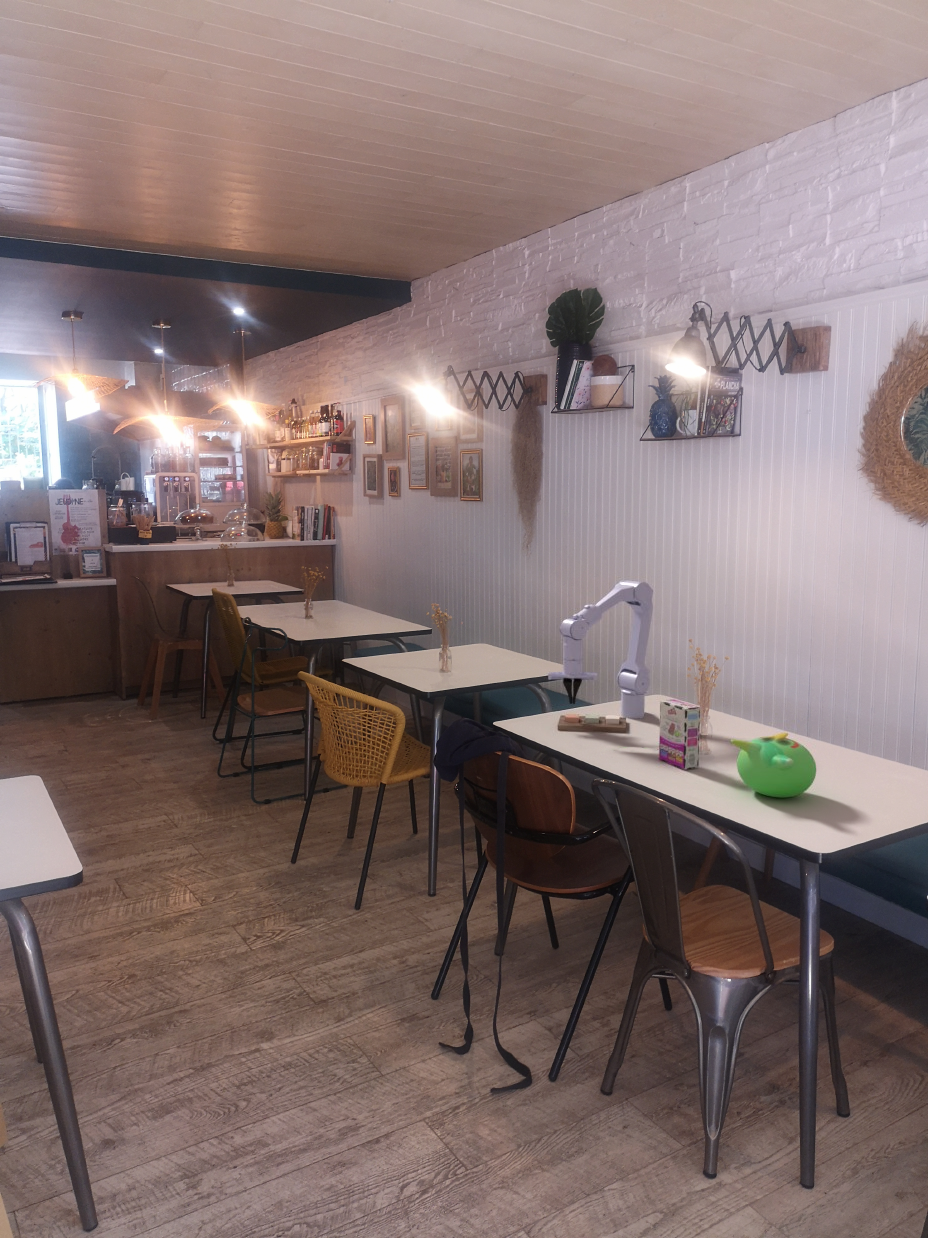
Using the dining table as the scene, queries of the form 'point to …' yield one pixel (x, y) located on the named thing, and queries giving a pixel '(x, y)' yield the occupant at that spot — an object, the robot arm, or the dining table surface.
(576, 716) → the terracotta button
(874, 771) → the dining table surface
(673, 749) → the candy bar box
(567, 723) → the button panel
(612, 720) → the cream button
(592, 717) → the sage button
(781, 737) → the toy bird
